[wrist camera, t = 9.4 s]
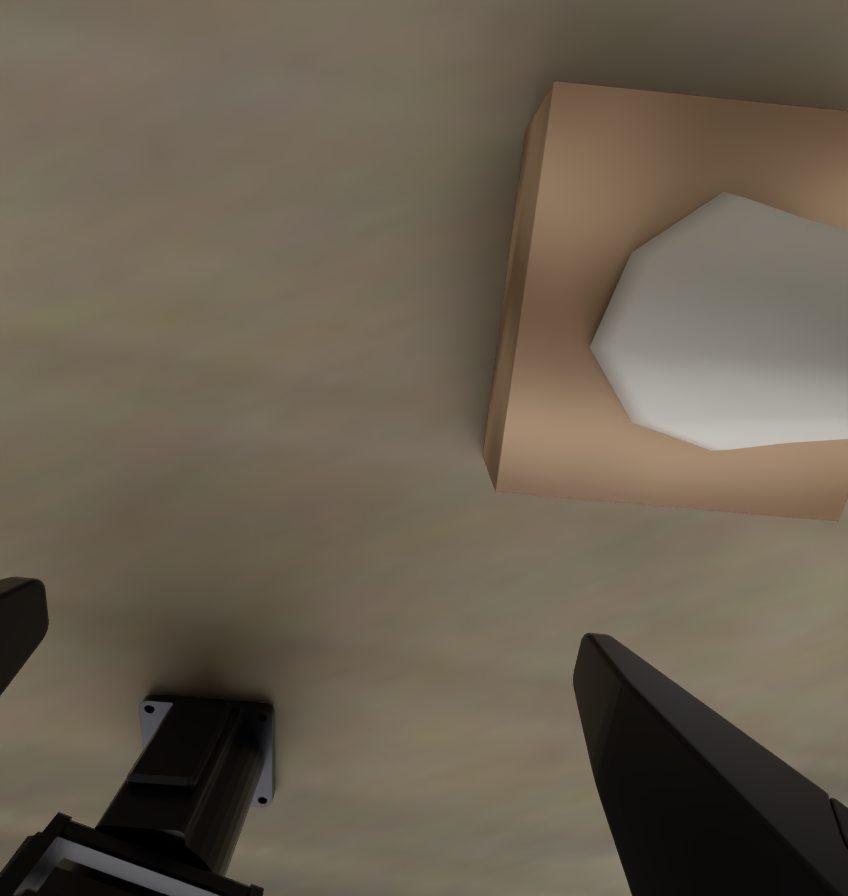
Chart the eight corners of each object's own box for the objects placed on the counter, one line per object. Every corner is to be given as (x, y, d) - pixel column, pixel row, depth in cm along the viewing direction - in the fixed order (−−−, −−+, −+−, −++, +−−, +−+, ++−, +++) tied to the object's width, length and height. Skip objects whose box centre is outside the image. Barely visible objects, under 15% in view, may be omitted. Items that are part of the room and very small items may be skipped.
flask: (883, 308, 15) (1749, 318, 5) (705, 484, 16) (1099, 741, 7) (719, 143, 13) (1453, -262, 4) (545, 351, 15) (749, 434, 5)
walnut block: (761, 480, 20) (838, 521, 17) (482, 456, 20) (495, 491, 16) (860, 165, 17) (986, 125, 13) (525, 131, 17) (554, 81, 13)
